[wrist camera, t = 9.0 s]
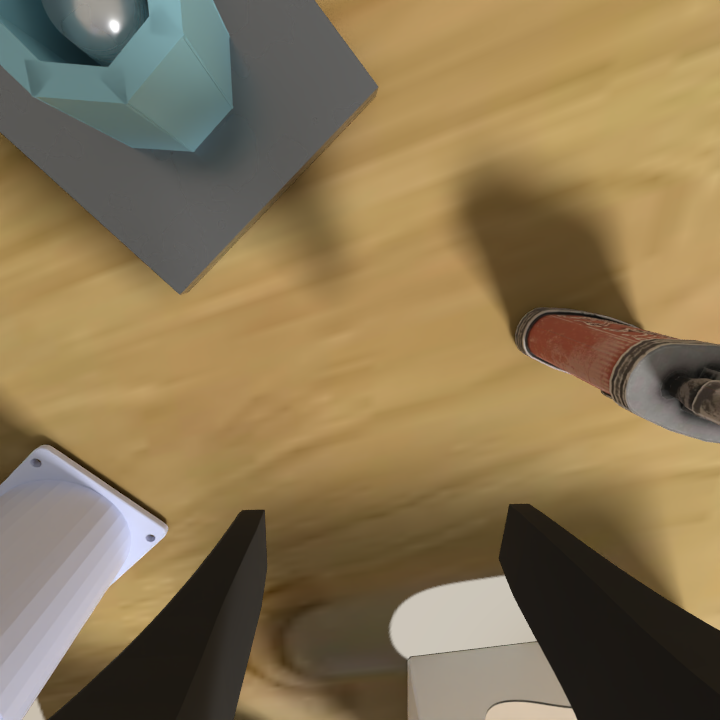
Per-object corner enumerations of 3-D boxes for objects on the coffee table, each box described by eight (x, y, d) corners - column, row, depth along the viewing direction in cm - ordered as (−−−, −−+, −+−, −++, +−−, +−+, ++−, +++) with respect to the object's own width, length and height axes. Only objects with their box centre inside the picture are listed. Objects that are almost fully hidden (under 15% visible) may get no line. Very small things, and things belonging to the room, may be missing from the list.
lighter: (505, 356, 19) (676, 463, 10) (528, 295, 18) (743, 346, 9) (632, 386, 20) (895, 507, 11) (660, 330, 20) (974, 408, 10)
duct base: (188, 292, 17) (132, 309, 12) (-65, 60, 14) (-277, -41, 9) (375, 97, 15) (396, 27, 10) (136, -222, 12) (7, -537, 7)
